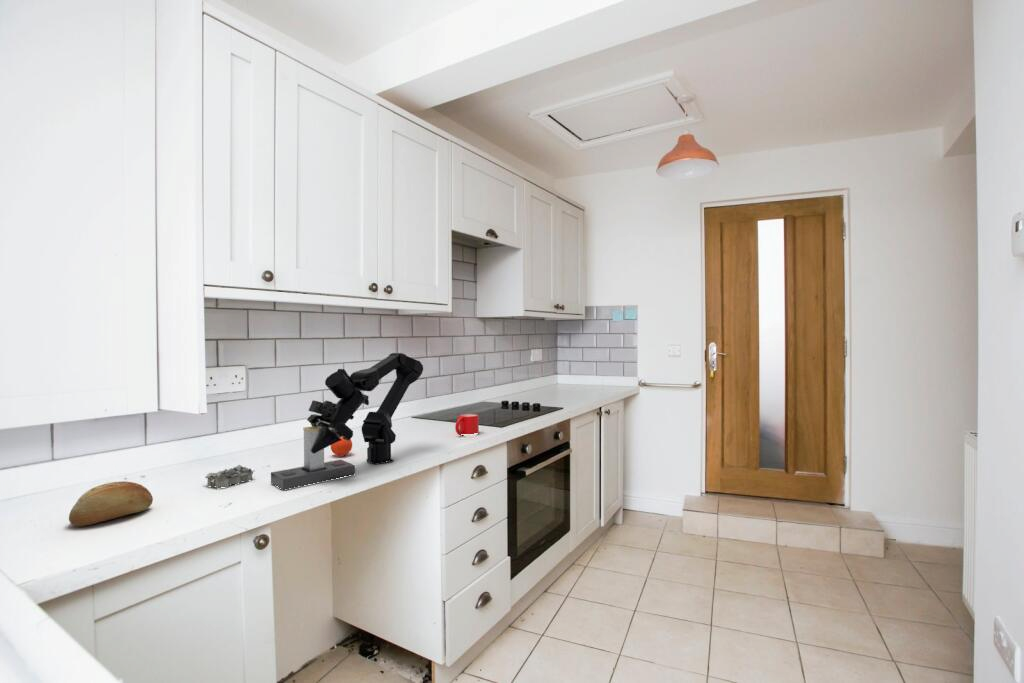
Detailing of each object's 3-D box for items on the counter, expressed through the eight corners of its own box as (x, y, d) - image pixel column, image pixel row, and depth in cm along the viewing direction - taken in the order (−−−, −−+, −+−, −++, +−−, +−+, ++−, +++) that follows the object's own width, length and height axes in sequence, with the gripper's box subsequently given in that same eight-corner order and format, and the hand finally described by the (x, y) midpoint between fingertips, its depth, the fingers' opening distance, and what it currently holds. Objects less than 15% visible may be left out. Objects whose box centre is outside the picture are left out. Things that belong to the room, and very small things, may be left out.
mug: (448, 436, 198) (448, 417, 197) (466, 431, 208) (466, 412, 208) (464, 439, 193) (464, 418, 193) (482, 433, 204) (482, 414, 203)
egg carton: (219, 491, 130) (218, 475, 130) (202, 487, 134) (202, 471, 134) (257, 480, 140) (256, 466, 140) (240, 476, 143) (240, 462, 143)
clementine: (328, 453, 170) (328, 433, 169) (350, 451, 173) (349, 431, 173) (332, 459, 162) (331, 437, 162) (354, 456, 166) (353, 435, 165)
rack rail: (340, 469, 150) (340, 459, 150) (354, 475, 144) (354, 464, 144) (270, 483, 136) (270, 472, 136) (283, 490, 130) (283, 479, 130)
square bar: (318, 470, 143) (317, 425, 143) (324, 473, 140) (324, 427, 140) (303, 473, 140) (303, 427, 140) (310, 476, 137) (309, 429, 137)
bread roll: (161, 512, 114) (161, 478, 114) (77, 534, 102) (77, 495, 102) (144, 504, 120) (144, 471, 120) (63, 524, 107) (62, 487, 107)
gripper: (313, 387, 149) (275, 429, 141) (342, 392, 136) (301, 439, 128) (338, 410, 155) (303, 451, 147) (368, 417, 141) (331, 463, 134)
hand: (309, 451), depth 139 cm, fingers closed on square bar, 4 cm apart
